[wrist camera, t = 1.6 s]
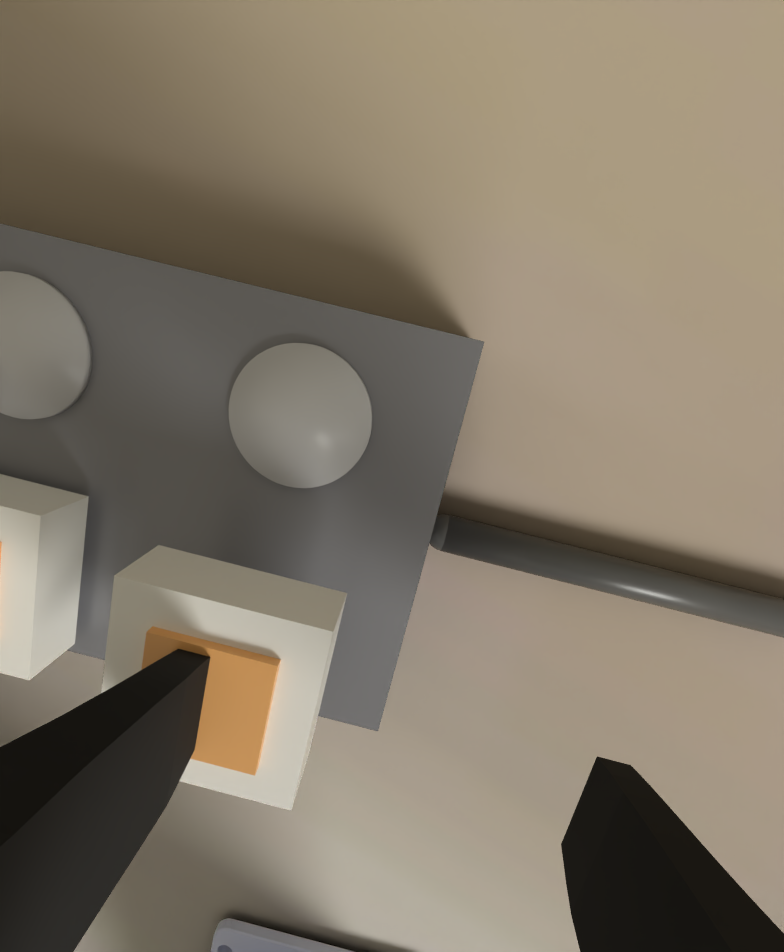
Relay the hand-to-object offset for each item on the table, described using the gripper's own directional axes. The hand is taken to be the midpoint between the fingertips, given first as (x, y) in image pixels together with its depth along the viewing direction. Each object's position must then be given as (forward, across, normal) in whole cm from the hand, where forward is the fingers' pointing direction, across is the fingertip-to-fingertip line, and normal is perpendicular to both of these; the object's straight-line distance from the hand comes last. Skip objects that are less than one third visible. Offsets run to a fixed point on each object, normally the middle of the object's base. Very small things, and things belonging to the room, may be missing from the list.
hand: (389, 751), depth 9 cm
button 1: (+2, +4, 0) cm, 4 cm away
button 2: (+3, +10, 0) cm, 10 cm away
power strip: (+6, +5, -2) cm, 8 cm away
